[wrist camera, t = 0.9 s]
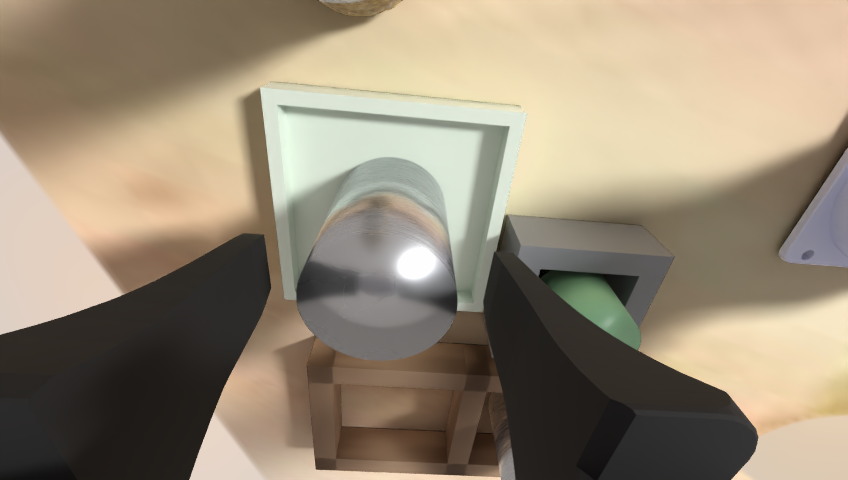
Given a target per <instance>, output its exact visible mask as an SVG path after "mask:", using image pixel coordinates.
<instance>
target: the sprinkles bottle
mask: <svg viewBox="0 0 848 480" xmlns="http://www.w3.org/2000/svg"><path fill="white" fill-rule="evenodd" d="M318 1H320V2H321V3H322V4H323V5H325V6H327V7H329V8H331V9H333V10H335V11H337V12H339V13H342V14H346V15H350V16H372V15H375V14H378V13H381V12H383V11H385V10H390V9H392V8H394V7H395V6H396V5H397V4H398V3H400V2H401V1H403V0H318Z"/></svg>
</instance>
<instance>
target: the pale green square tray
mask: <svg viewBox="0 0 848 480" xmlns="http://www.w3.org/2000/svg"><path fill="white" fill-rule="evenodd" d="M260 92H261V101H262V109H263V118H264V127H265V136H266V144H267V153H268V162H269V171H270V179H271V188H272V197H273V205H274V214H275V223H276V232H277V240H278V249H279V258H280V266H281V275H282V284H283V293H284V299H285V300H296V289H297V283H298V280H299V277H300V274H301V272H302V270H303V268H304V266H305V263H306V261H307V259H308V257H309V254H310V252H311V250H312V248H313V245H314V243H315V241H316V239H317V236H318V234H319V232H320V230H321V227H322V225H323V223H324V221H325V218H326V216H327V214H328V212H329V210H330V207H331V205H332V203H333V201H334V198H335V196H336V194H337V192H338V189H339V187H340V185H341V183H342V181H343V180H344V178H345V177H346V176H347V175H348V174H349V173H350V172H351V171H352V170H353V169H354V168H355V167H357V166H358V165H360V164H362V163H364V162H366V161H369V160H371V159H376V158H381V157H396V158H402V159H406V160H409V161H411V162H414V163H416V164H418V165H420V166H421V167H423V168H424V169H425V170H427V171H428V172H429V173H430V174H431V175H432V176H433V177H434V178H435V180H436V181H437V182H438V184H439V186H440V188H441V190H442V193H443V196H444V200H445V206H446V214H447V221H448V229H449V236H450V244H451V251H452V259H453V266H454V274H455V281H456V289H457V298H458V305H457V311H468V312H483V308H484V305H483V299H484V295H485V290H486V286H487V281H488V277H489V272H490V268H491V263H492V259H493V254H494V251H496V250H497V245H498V241H499V236H500V232H501V228H502V223H503V219H504V214H505V210H506V205H507V201H508V196H509V192H510V188H511V183H512V179H513V174H514V170H515V165H516V161H517V156H518V152H519V147H520V143H521V139H522V134H523V130H524V125H525V121H526V116H527V112H526V111H524V110H523V109H522V108H521V107H520V106H518V105H508V104H497V103H487V102H477V101H466V100H456V99H446V98H436V97H425V96H415V95H405V94H394V93H384V92H374V91H363V90H353V89H343V88H333V87H322V86H312V85H302V84H291V83H281V82H270V83H268V84H266V85H264V86H262V87H260Z"/></svg>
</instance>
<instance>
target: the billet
mask: <svg viewBox="0 0 848 480" xmlns="http://www.w3.org/2000/svg"><path fill="white" fill-rule="evenodd" d="M296 300H297V306H298V310H299V312H300V315H301V317H302V319H303V321H304V323H305V324H306V326H307V327H308V328H309V330H310V331H311V332H312V333H313V334H314V335H315V336H316V337H317V338H318V339H319V340H321V341H322V342H323V343H325V344H326V345H328V346H329V347H331V348H333V349H335V350H337V351H338V352H341V353H343V354H346V355H349V356H352V357H356V358H360V359H365V360H375V361H386V360H396V359H402V358H406V357H410V356H413V355H415V354H418V353H421V352H422V351H424V350H426V349H428V348H430V347H431V346H433V345H434V344H436V343H437V342H438V341H439V340H440V339H441V338H442V337H443V336H444V335H445V334H446V333H447V331H448V330H449V328H450V327H451V325H452V323H453V321H454V319H455V316H456V312H457V305H458V298H457V289H456V281H455V274H454V266H453V259H452V251H451V244H450V236H449V229H448V221H447V214H446V206H445V200H444V196H443V193H442V190H441V188H440V186H439V184H438V182H437V181H436V180H435V178H434V177H433V176H432V175H431V174H430V173H429V172H428V171H427V170H425V169H424V168H423V167H421V166H420V165H418V164H416V163H414V162H411V161H409V160H406V159H402V158H396V157H381V158H376V159H371V160H369V161H366V162H364V163H362V164H360V165H358V166H357V167H355V168H354V169H353V170H352V171H351V172H350V173H349V174H348V175H347V176H346V177H345V178H344V180H343V181H342V183H341V185H340V187H339V189H338V192H337V194H336V196H335V198H334V201H333V203H332V205H331V207H330V210H329V212H328V214H327V216H326V218H325V221H324V223H323V225H322V227H321V230H320V232H319V234H318V236H317V239H316V241H315V243H314V245H313V248H312V250H311V252H310V254H309V257H308V259H307V261H306V263H305V266H304V268H303V270H302V272H301V274H300V277H299V280H298V283H297V289H296Z"/></svg>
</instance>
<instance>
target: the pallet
mask: <svg viewBox="0 0 848 480" xmlns="http://www.w3.org/2000/svg"><path fill="white" fill-rule="evenodd" d="M307 373H308V385H309V397H310V408H311V420H312V431H313V443H314V455H315V466H316V470H340V471H365V472H389V473H414V474H438V475H462V476H487V477H501V476H500V470H499V465H498V459H497V453H496V447H495V442H494V436H493V434H483V433H476V431H477V427H478V424H479V420H480V416H481V413H482V409H483V405H484V401H485V398H486V394H487V392H494V393H503V391H502V387H501V383H500V380H499V376H498V372H497V368H496V364H495V361H494V358H492V357H491V352H490V347H489V346H485V345H469V344H452V343H436V344H434V345H433V346H431V347H430V348H428V349H426V350H424V351H422V352H421V353H418V354H415V355H413V356H410V357H406V358H402V359H396V360H386V361H375V360H365V359H360V358H356V357H352V356H349V355H346V354H343V353H341V352H338V351H337V350H335V349H333V348H331V347H329V346H328V345H326V344H325V343H323V342H322V341H321V340H319V339H318V338H317V337H316V338H315V341H314V344H313V348H312V351H311V354H310V357H309V360H308V364H307ZM341 384H345V385H363V386H382V387H400V388H419V389H438V390H454V391H453V396H452V401H451V406H450V411H449V416H448V421H447V426H446V431H445V432H440V431H419V430H398V429H377V428H356V427H342V417H341Z"/></svg>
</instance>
